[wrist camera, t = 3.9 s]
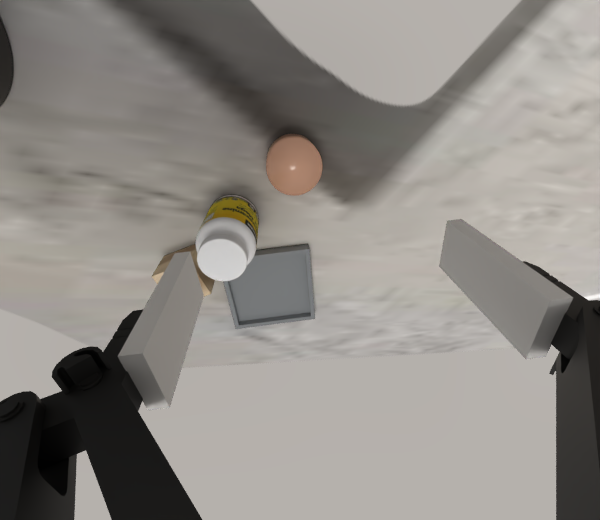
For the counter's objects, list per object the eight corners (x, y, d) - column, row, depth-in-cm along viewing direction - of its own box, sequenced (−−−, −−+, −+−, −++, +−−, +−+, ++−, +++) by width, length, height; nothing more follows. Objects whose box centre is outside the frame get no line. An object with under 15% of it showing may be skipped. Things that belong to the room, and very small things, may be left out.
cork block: (164, 255, 40) (151, 276, 36) (198, 242, 39) (189, 262, 35) (184, 284, 42) (175, 306, 38) (216, 272, 42) (210, 293, 38)
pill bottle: (269, 214, 38) (268, 257, 29) (239, 247, 40) (230, 298, 31) (228, 182, 36) (213, 218, 26) (198, 219, 38) (175, 265, 28)
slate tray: (219, 254, 40) (217, 260, 39) (308, 243, 41) (309, 249, 40) (236, 322, 47) (235, 329, 45) (313, 312, 47) (315, 318, 46)
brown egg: (262, 136, 34) (262, 141, 31) (316, 130, 34) (320, 135, 31) (270, 189, 37) (270, 198, 34) (319, 183, 37) (323, 192, 34)
